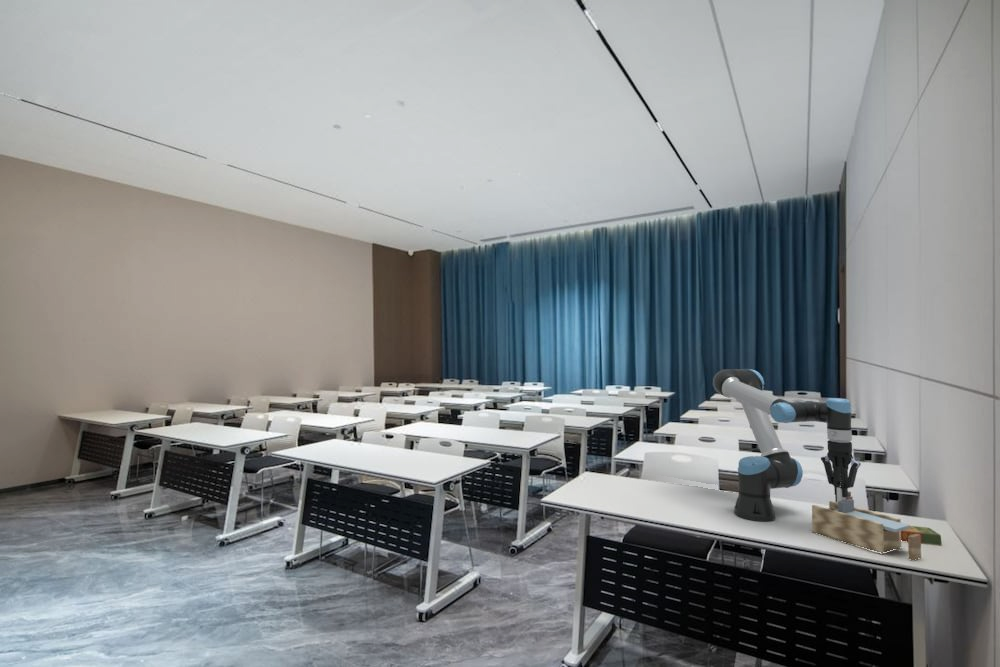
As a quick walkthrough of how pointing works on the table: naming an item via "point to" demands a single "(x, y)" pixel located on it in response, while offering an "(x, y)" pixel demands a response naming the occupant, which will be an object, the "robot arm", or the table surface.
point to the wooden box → (861, 530)
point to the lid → (870, 516)
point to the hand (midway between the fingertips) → (841, 505)
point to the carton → (922, 535)
